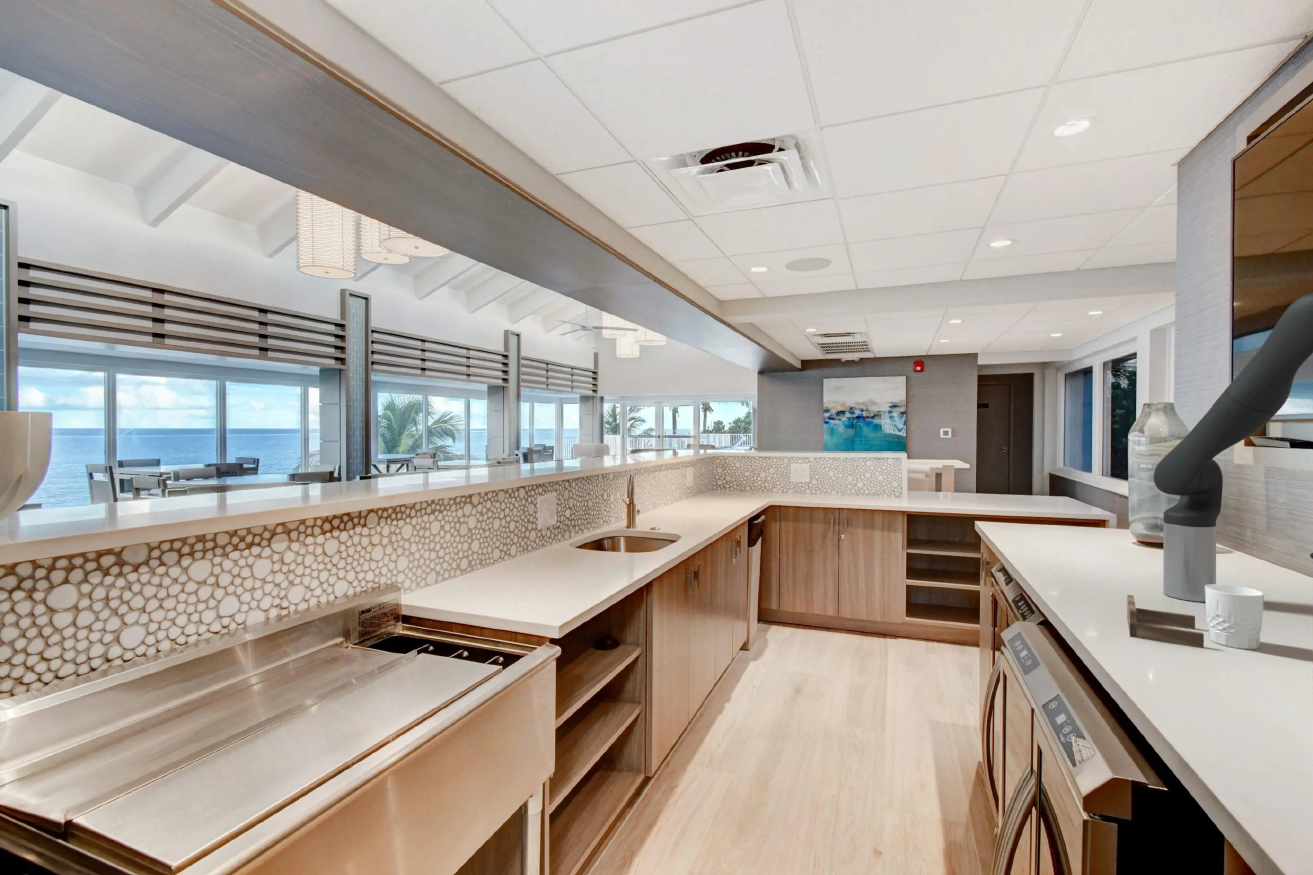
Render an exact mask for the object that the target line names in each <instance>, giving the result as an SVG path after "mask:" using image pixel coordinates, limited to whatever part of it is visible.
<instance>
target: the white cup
mask: <svg viewBox="0 0 1313 875" xmlns="http://www.w3.org/2000/svg"><path fill="white" fill-rule="evenodd" d="M1205 600H1206V602H1205V611H1206V614H1205V615H1206V624H1207V631H1208V632H1207V633H1208V639H1209V640H1210V641H1211V642H1213V643H1216V644H1218V645H1221V646H1225V647H1230V648H1234V649H1235V648H1236V649H1240V650H1241V649H1242V650H1256V649H1258V648H1260V645H1261V644H1260V642H1261V635H1260V634H1261V633H1262V623H1263V616H1264V615H1263V614H1264V604H1265V603H1264V600H1265V593H1264V592H1263V591H1261V590H1258V589H1254V588H1251V587H1250V588H1249V587H1246V586H1240V585H1239V586H1238V585H1231V584H1221V583H1220V584H1219V583H1218V584H1217V583H1216V584H1209V585H1205Z"/></svg>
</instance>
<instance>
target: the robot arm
mask: <svg viewBox="0 0 1313 875" xmlns="http://www.w3.org/2000/svg"><path fill="white" fill-rule="evenodd" d="M1312 355H1313V292H1311V293H1308V294H1306V295H1303V296H1301V297H1299V298H1298V299H1295V300H1294V301H1293V302H1292V303H1291V304H1290V305H1289V306H1288V307H1287V308H1286V309H1285V311H1284V312H1283V314H1282V315H1281V316H1280V318H1279V319H1278V321H1277V322H1276V324H1275V325H1274V327H1273V329H1272V330H1271V332H1270V333H1269V335H1267V338H1266V340H1265V341H1264V343H1263V344H1262V345H1261V346H1260V348H1259V350H1257V352H1256V354H1255V355H1254V356H1253V357H1252V358H1251V359H1250V360H1249V361H1248V363H1247V364H1246V365H1245V366H1244V367H1243V369H1242V370H1241V371H1240V372H1239V374H1238V375H1237V376H1236V377H1235V378H1234V379H1233V381H1232V382H1231V383H1230V384H1229V385H1227V387H1226V388H1225V389H1224V391H1223V392H1222V393H1221V394H1220V395H1219V397H1218V398H1217V399H1216V400H1215V401H1214V403H1213V404H1212V406H1211V407H1210V408H1209V409H1208V411H1207V412H1206V413H1205V414H1204V416H1202V418H1201V419H1200V420H1199V421H1198V422H1197V423H1196V424H1195V426H1194V427H1193V428H1192V429H1191V430H1190V431H1189V432H1188V434H1187V435H1186V436H1185V437H1184V438H1183V439H1182V440H1181V441H1179V443H1178V444H1176V446H1174V448H1172V449H1171V450H1170V451H1169V452H1168V453H1167V454H1166V455H1165V456H1164V457H1163V458H1161V460H1160V461H1159V462H1158V464H1157V465H1156V467H1155V469H1154V472H1153V482H1154V485H1155V487H1156V488H1157V490H1159V491H1160V492H1162V493H1164V494H1166V495H1172V496H1180V497H1179V499H1178V501H1177V502H1176V503H1175V504H1174V505H1173V506H1171V507H1169V508H1167V509H1166V510H1164V511H1163V517H1162V518H1163V528H1162V529H1163V530H1162V532H1163V557H1162V558H1163V560H1162V561H1163V566H1162V567H1163V571H1162V572H1163V577H1162V578H1163V580H1162V581H1163V584H1162V585H1163V588H1162V589H1163V592H1162V593H1163V594H1164V595H1165V596H1168V597H1170V598H1175V599H1178V600H1184V601H1185V600H1186V601H1191V602H1200V603H1201V602H1203V603H1204V602H1205V603H1206V600H1205V585H1209V584H1217V519H1218V518H1219V516H1220V514H1221V511H1222V503H1223V502H1222V500H1223V490H1224V489H1223V487H1224V486H1223V485H1224V481H1223V480H1224V478H1223V472H1222V469H1221V467H1220V465H1219V464H1218V462H1217V461H1216V460H1214V458H1216V456H1218V455H1219V454H1221V453H1222V452H1223V451H1226V450H1227V449H1229V448H1231V447H1233V446H1235V445H1236V444H1238V443H1240V442H1242V441H1243V440H1245V439H1248V438H1249V437H1251V436H1252V435H1254V434H1256V433H1257V432H1258V431H1260V430H1261V429H1263V427H1264V426H1266V425H1267V424H1268V423H1269V421H1271V419H1272V418H1274V416H1275V415H1276V414H1277V413H1278V412H1279V411H1280V410H1281V409H1282V408H1283V407H1284V405H1285V403H1286V402H1287V400H1288V398H1289V396H1290V393H1291V391H1292V387H1293V383H1294V379H1295V377H1296V375H1297V372H1298V370H1299V369H1300V368H1301V366H1302V365H1303V364H1304V363H1305V362H1306V361H1307V360H1308V359H1309V357H1311V356H1312ZM1309 557H1310V558H1311V559H1312V560H1313V552H1311V553H1310V554H1309Z"/></svg>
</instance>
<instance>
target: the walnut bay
mask: <svg viewBox="0 0 1313 875" xmlns="http://www.w3.org/2000/svg"><path fill="white" fill-rule="evenodd" d="M1126 603H1127V604H1126V609H1127V611H1126V612H1127V613H1126V614H1127V617H1126V618H1127V626H1128V633H1129V637H1132V638H1138V639H1145V640H1152V641H1157V642H1162V643H1163V642H1164V643H1170V644H1176V645H1181V644H1182V645H1183V646H1187V647H1188V646H1189V647H1193V648H1194V647H1196V648H1201V649H1204V646H1205V644H1204V643H1205V638H1204V637H1205V636H1204V635H1205V634H1204V632H1200V631H1192V630H1196V616H1195V615H1192V614H1186V613H1185V614H1184V613H1177V612H1169V611H1162V610H1154V609H1148V608H1140V607H1136V601H1135V597H1134V595H1131V594H1127V596H1126ZM1138 622H1140V623H1138ZM1146 623H1149V624H1146ZM1151 624H1153V625H1151ZM1155 624H1156V625H1155ZM1157 625H1158V626H1157ZM1159 625H1163V626H1159ZM1164 626H1165V627H1164ZM1166 626H1167V627H1166ZM1168 626H1169V627H1168ZM1175 626H1176V628H1173V627H1175ZM1181 627H1183V628H1182V629H1179V628H1181ZM1188 628H1191V629H1190V630H1186V629H1188Z"/></svg>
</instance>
